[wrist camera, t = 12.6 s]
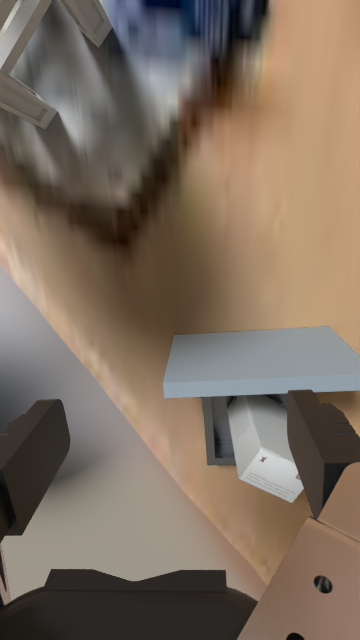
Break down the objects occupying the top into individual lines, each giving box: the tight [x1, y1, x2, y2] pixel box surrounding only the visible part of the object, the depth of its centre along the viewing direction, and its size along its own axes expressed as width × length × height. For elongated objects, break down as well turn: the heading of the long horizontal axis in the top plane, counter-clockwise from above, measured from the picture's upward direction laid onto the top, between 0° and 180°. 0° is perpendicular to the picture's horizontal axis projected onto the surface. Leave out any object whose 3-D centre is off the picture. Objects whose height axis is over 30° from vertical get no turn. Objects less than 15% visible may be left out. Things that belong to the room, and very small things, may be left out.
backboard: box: [163, 326, 360, 398], centre depth 35 cm, size 18×2×12 cm, turn 95°
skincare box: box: [227, 394, 304, 503], centre depth 37 cm, size 6×4×12 cm
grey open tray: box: [202, 393, 288, 465], centre depth 41 cm, size 12×14×4 cm
